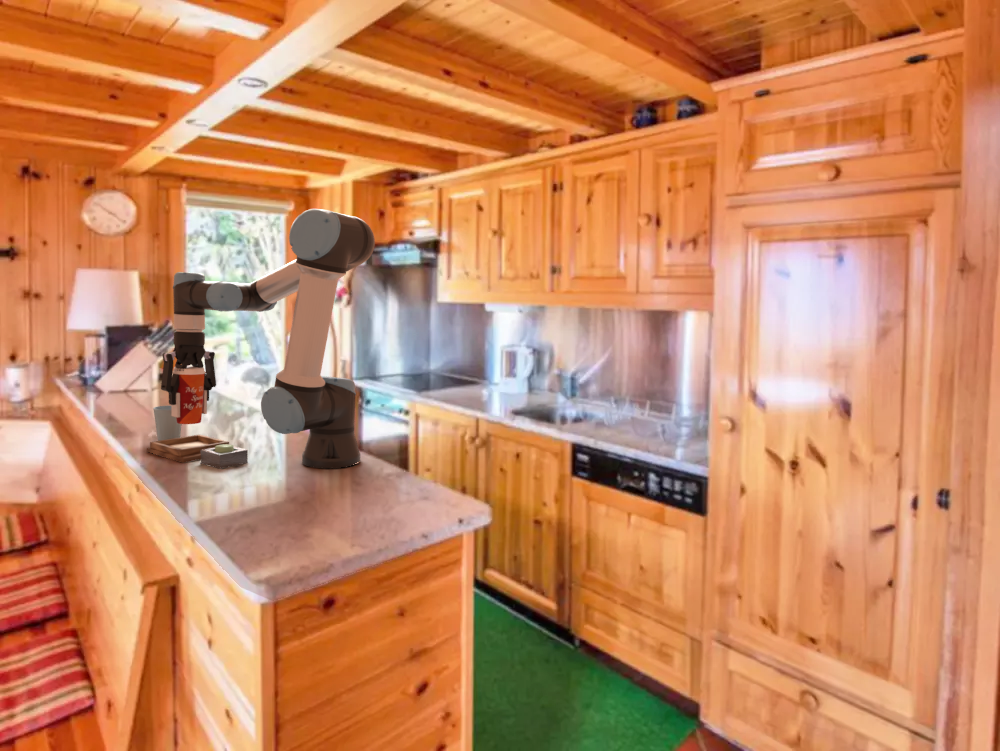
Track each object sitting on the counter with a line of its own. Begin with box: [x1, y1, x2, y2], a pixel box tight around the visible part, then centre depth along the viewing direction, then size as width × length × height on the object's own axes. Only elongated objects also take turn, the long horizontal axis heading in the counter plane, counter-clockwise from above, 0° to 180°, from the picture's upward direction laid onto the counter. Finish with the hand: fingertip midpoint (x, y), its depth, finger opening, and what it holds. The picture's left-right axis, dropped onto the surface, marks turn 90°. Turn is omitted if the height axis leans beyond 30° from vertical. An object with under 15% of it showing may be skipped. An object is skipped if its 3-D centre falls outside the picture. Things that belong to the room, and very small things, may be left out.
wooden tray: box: [146, 433, 230, 464], centre depth 174 cm, size 17×15×3 cm
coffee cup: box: [172, 365, 206, 425], centre depth 172 cm, size 8×8×15 cm
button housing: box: [200, 445, 249, 470], centre depth 164 cm, size 8×8×4 cm
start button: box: [215, 443, 234, 453], centre depth 164 cm, size 4×4×4 cm
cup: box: [152, 404, 183, 441], centre depth 183 cm, size 8×8×10 cm
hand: (189, 414), depth 173 cm, fingers closed on coffee cup, 7 cm apart
